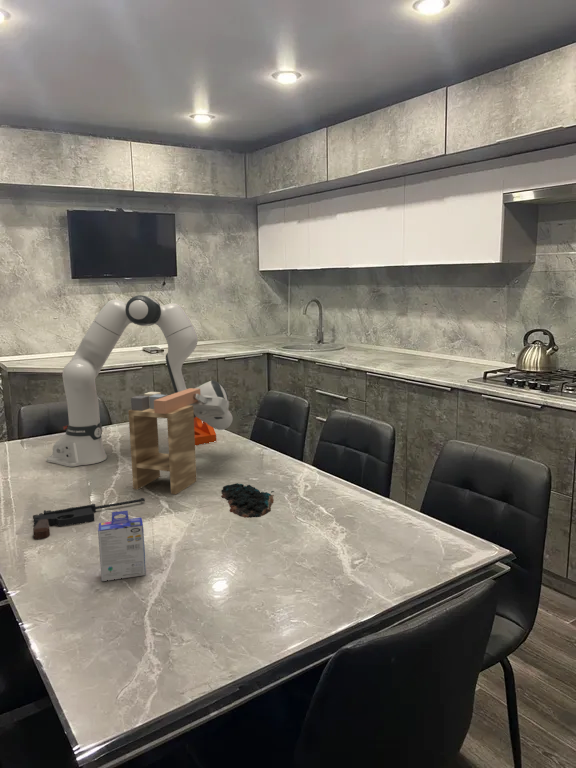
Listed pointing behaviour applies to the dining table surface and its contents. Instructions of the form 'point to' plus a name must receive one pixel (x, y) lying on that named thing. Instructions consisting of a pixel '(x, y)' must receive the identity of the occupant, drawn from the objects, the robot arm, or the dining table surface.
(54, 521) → the firearm
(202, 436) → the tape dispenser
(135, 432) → the oak shelf
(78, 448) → the robot arm
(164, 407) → the terracotta bar
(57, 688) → the dining table surface
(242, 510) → the mineral specimen
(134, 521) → the ink cartridge box
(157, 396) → the slate cube
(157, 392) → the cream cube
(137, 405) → the charcoal cube
